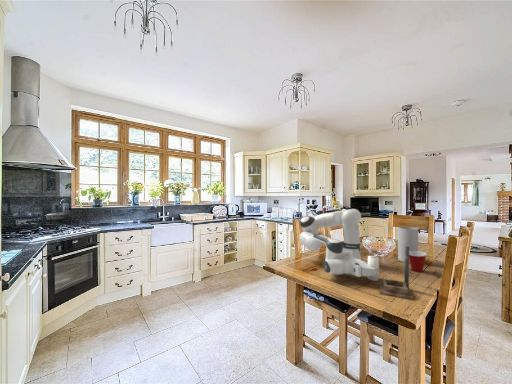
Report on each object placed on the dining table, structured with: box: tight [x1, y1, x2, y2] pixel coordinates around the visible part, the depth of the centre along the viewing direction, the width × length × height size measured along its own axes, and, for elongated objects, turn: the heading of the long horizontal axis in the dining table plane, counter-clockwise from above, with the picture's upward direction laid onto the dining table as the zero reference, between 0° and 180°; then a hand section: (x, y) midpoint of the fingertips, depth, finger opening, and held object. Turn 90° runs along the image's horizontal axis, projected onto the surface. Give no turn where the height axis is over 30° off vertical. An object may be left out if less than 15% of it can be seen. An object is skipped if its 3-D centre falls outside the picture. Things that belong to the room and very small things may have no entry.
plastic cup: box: [409, 250, 428, 273], centre depth 151 cm, size 11×11×12 cm
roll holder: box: [378, 246, 414, 301], centre depth 121 cm, size 14×14×23 cm
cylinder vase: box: [397, 226, 419, 264], centre depth 172 cm, size 12×12×25 cm
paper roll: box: [367, 255, 380, 282], centre depth 138 cm, size 6×6×13 cm
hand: (374, 266), depth 138 cm, fingers open, 8 cm apart
